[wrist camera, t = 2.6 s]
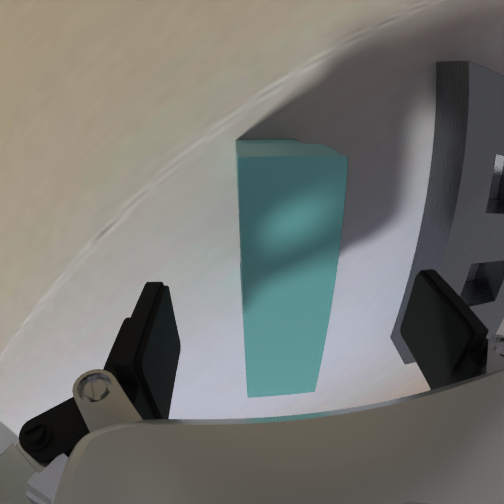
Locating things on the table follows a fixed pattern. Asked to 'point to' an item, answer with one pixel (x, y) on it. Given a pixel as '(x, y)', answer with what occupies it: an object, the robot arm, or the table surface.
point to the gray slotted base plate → (464, 195)
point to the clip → (287, 258)
